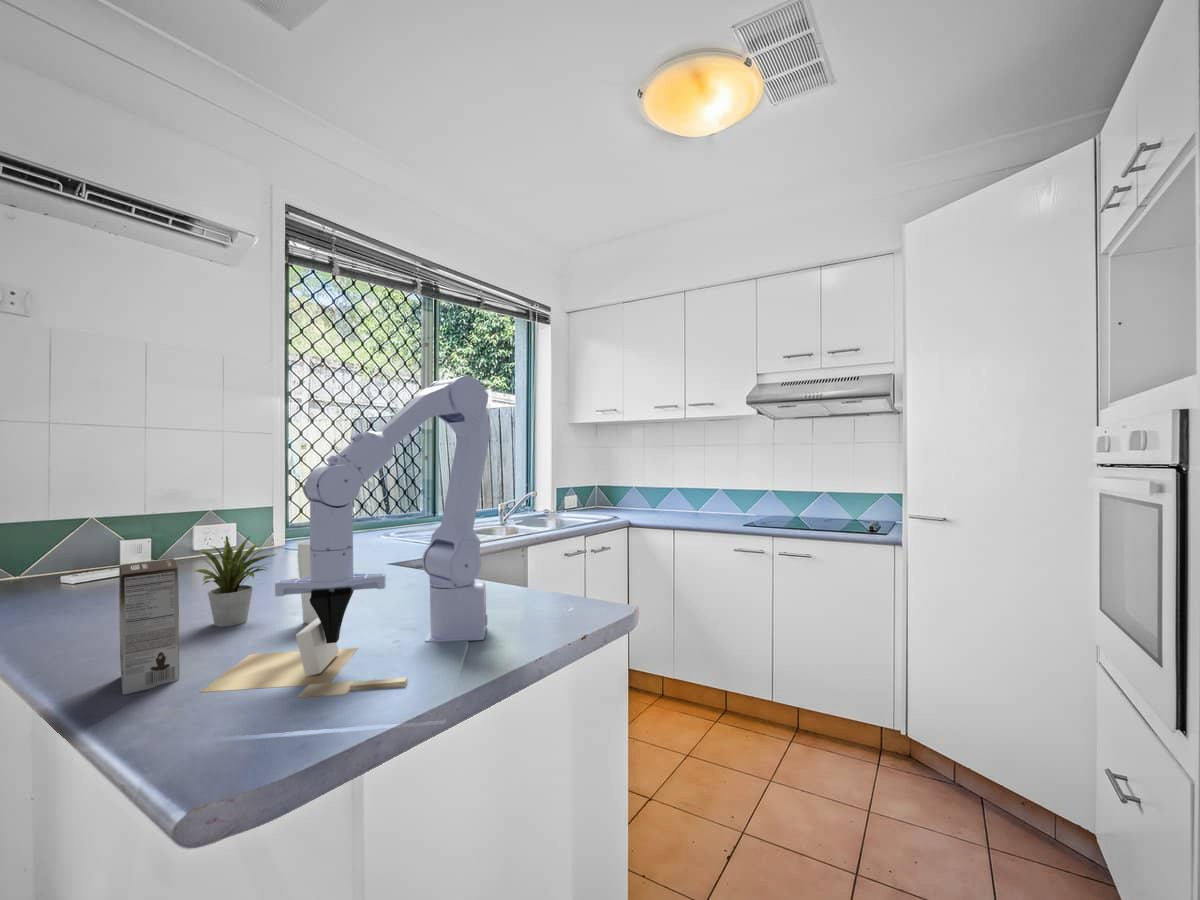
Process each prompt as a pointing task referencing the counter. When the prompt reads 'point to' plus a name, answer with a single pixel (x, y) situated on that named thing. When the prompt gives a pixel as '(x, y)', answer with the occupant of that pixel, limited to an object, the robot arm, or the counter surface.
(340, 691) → the beech spatula
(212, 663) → the counter surface
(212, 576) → the house plant
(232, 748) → the counter surface
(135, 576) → the coffee box
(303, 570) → the drinking glass
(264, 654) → the bamboo mat
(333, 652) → the white block
